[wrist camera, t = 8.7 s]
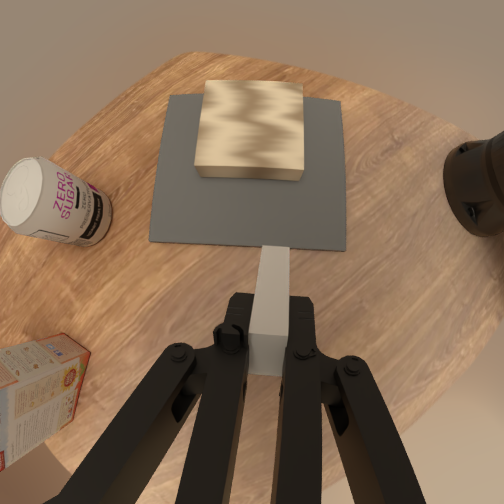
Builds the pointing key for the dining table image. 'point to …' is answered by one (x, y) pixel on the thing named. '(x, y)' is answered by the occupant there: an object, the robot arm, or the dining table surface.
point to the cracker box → (37, 392)
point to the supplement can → (53, 204)
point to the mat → (251, 188)
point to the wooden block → (251, 130)
